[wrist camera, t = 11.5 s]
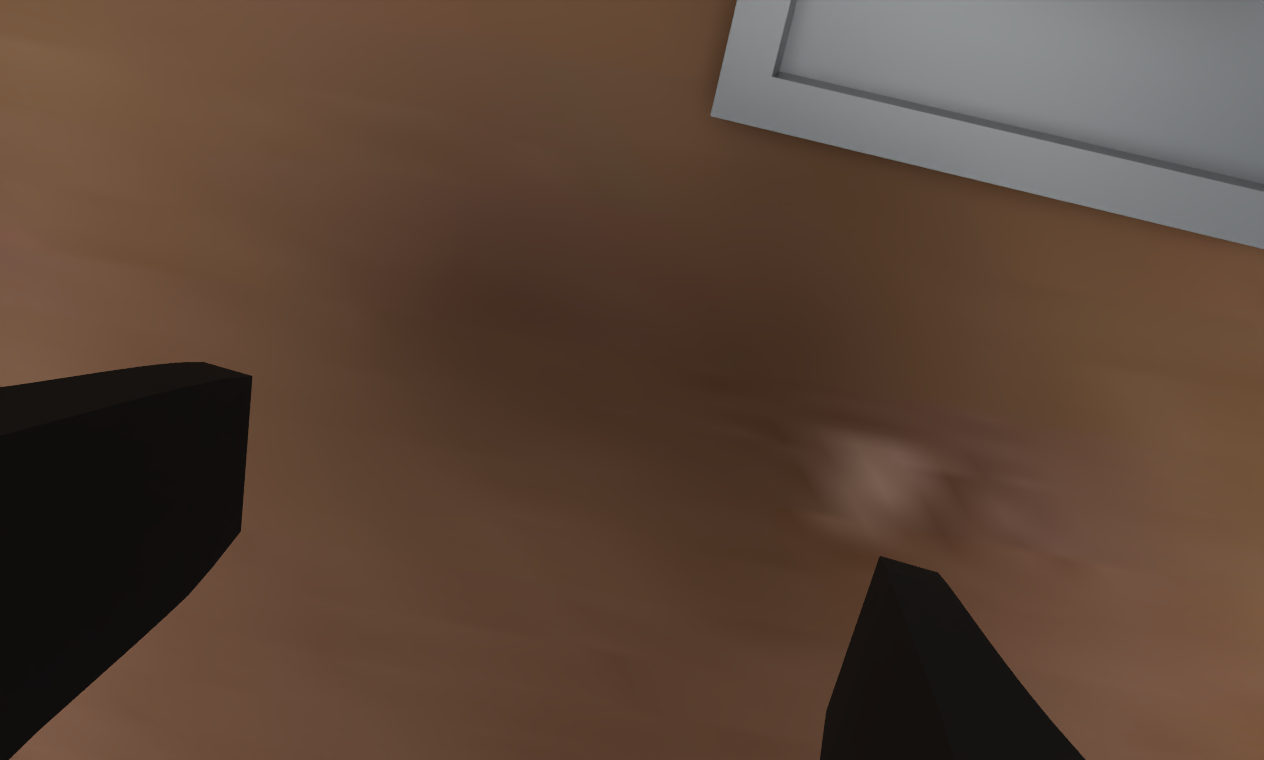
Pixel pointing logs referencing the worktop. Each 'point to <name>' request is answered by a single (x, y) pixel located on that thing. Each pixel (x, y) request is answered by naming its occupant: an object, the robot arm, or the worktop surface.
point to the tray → (1025, 96)
